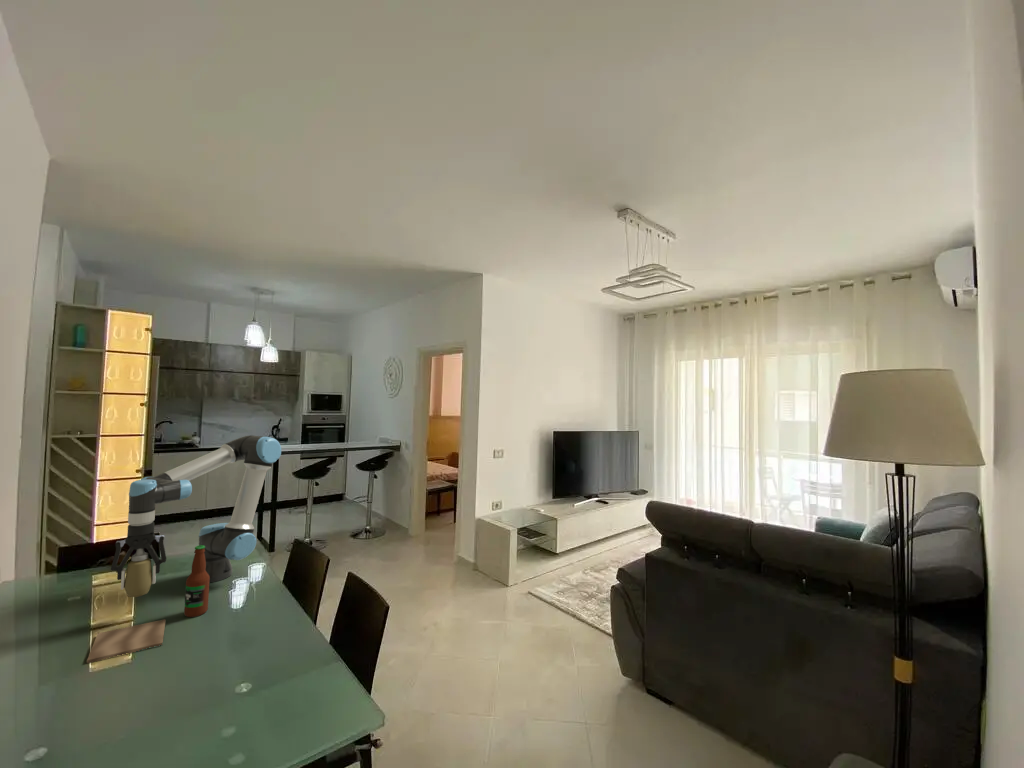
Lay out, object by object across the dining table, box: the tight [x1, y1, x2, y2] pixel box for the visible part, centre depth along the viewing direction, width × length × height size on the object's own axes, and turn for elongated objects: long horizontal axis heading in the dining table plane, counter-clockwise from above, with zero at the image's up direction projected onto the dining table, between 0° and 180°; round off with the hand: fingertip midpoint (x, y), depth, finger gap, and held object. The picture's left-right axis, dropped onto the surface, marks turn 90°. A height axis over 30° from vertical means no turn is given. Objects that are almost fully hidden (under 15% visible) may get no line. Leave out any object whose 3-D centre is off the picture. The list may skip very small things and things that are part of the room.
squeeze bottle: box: [124, 548, 153, 598], centre depth 160 cm, size 8×8×18 cm
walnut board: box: [86, 619, 166, 664], centre depth 146 cm, size 18×18×1 cm
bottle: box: [183, 544, 210, 618], centre depth 165 cm, size 7×7×25 cm
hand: (138, 585), depth 160 cm, fingers closed on squeeze bottle, 8 cm apart
